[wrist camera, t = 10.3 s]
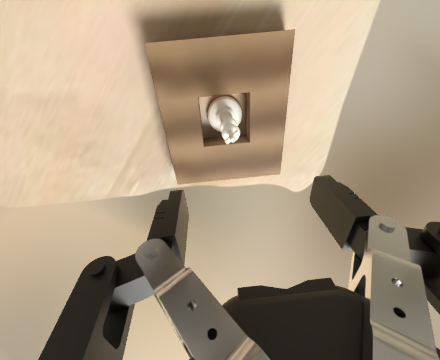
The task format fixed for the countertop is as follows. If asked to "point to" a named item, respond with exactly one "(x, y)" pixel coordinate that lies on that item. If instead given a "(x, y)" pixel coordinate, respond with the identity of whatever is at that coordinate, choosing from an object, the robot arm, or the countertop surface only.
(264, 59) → the socket board
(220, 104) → the chess piece
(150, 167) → the countertop surface
